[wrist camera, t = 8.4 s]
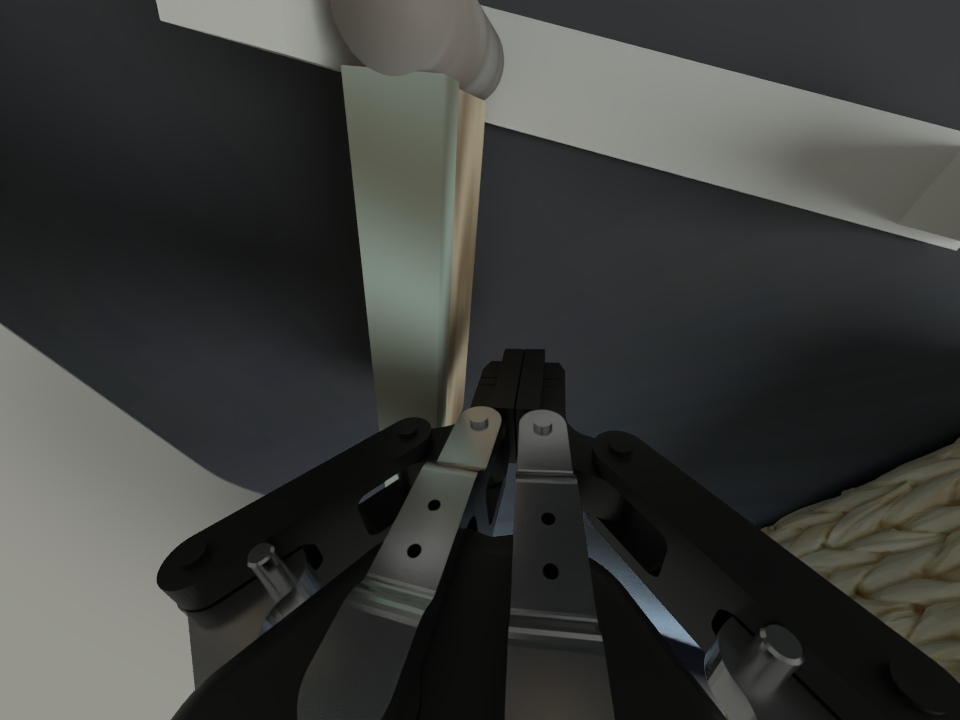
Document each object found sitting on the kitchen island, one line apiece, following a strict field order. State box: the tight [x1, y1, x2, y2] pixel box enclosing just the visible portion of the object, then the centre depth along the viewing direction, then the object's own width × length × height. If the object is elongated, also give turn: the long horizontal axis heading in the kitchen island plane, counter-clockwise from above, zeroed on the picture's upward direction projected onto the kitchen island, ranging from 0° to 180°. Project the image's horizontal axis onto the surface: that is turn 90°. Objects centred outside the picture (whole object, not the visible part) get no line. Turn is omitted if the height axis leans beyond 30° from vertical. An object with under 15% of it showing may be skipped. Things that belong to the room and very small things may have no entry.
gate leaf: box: [329, 0, 504, 487], centre depth 13 cm, size 16×2×7 cm, turn 175°
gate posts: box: [156, 0, 960, 250], centre depth 9 cm, size 22×3×9 cm, turn 77°
